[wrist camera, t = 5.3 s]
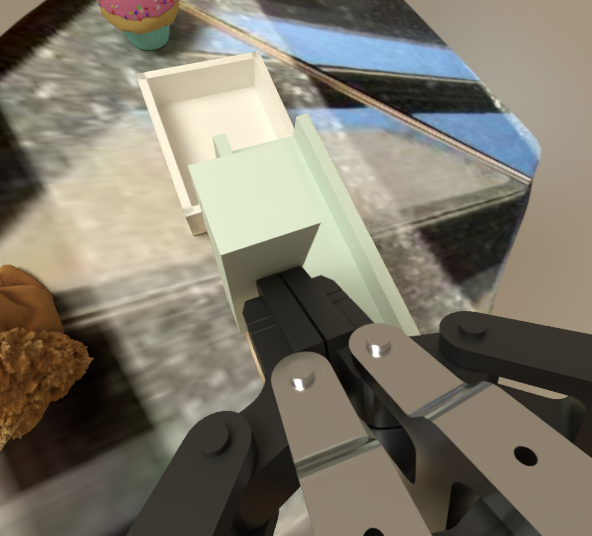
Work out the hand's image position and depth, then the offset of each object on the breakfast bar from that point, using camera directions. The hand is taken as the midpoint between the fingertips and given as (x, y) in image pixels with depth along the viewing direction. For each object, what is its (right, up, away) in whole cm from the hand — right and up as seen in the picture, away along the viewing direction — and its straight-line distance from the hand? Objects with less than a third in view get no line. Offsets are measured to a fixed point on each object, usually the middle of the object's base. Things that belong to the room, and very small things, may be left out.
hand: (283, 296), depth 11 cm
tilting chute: (+1, -2, +12) cm, 12 cm away
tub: (-7, +14, +26) cm, 31 cm away
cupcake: (-17, +29, +30) cm, 45 cm away
